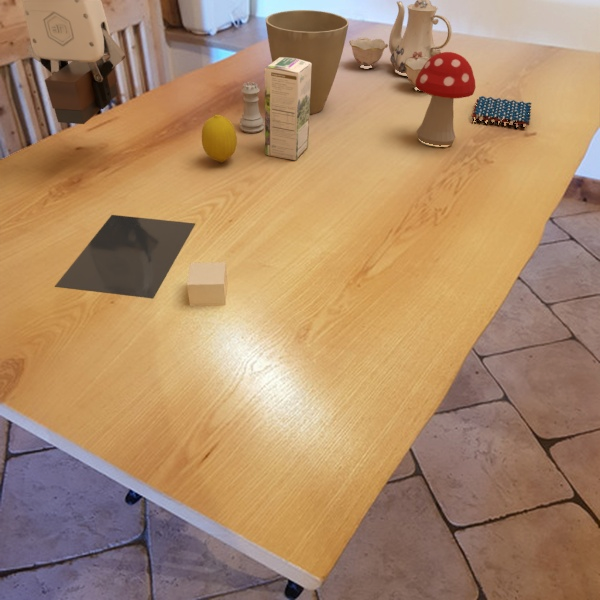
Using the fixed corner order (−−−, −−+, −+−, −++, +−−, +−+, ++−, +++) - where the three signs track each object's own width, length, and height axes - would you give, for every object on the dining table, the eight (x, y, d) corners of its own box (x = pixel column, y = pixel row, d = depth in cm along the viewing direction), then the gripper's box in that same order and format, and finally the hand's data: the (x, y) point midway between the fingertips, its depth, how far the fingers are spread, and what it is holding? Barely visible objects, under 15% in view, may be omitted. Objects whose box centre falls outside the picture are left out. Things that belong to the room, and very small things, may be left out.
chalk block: (190, 312, 62) (186, 284, 59) (194, 289, 65) (190, 262, 62) (226, 311, 62) (223, 283, 59) (228, 289, 65) (225, 262, 62)
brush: (85, 124, 78) (74, 81, 74) (56, 122, 79) (44, 79, 75) (119, 94, 87) (111, 55, 83) (93, 92, 88) (84, 53, 84)
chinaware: (335, 73, 129) (334, -5, 118) (382, 52, 137) (386, -23, 125) (430, 107, 114) (440, 22, 102) (478, 82, 121) (492, -1, 109)
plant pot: (266, 122, 102) (264, 30, 92) (267, 94, 114) (266, 9, 103) (346, 123, 103) (353, 31, 93) (339, 94, 114) (344, 10, 104)
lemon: (214, 173, 87) (210, 124, 82) (198, 160, 90) (192, 112, 85) (244, 164, 90) (241, 116, 84) (227, 152, 93) (223, 105, 88)
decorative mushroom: (469, 140, 98) (490, 52, 88) (452, 157, 93) (471, 65, 83) (418, 127, 102) (432, 41, 92) (398, 143, 97) (411, 53, 87)
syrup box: (278, 142, 96) (277, 55, 87) (309, 148, 95) (312, 60, 85) (264, 155, 92) (262, 66, 83) (297, 161, 91) (298, 71, 81)
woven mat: (475, 103, 112) (477, 93, 110) (529, 111, 109) (532, 101, 108) (469, 123, 104) (471, 112, 103) (527, 131, 101) (530, 120, 100)
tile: (56, 293, 64) (53, 286, 63) (113, 220, 76) (111, 214, 75) (154, 305, 63) (153, 298, 62) (196, 229, 75) (195, 223, 74)
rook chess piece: (238, 124, 102) (236, 80, 96) (262, 123, 102) (261, 79, 97) (241, 134, 98) (238, 89, 93) (265, 133, 99) (264, 88, 94)
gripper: (-23, -33, 69) (23, 110, 81) (103, -27, 67) (132, 118, 79) (10, -43, 75) (48, 92, 87) (127, -38, 73) (150, 99, 85)
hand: (88, 103), depth 83 cm, fingers closed on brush, 4 cm apart
